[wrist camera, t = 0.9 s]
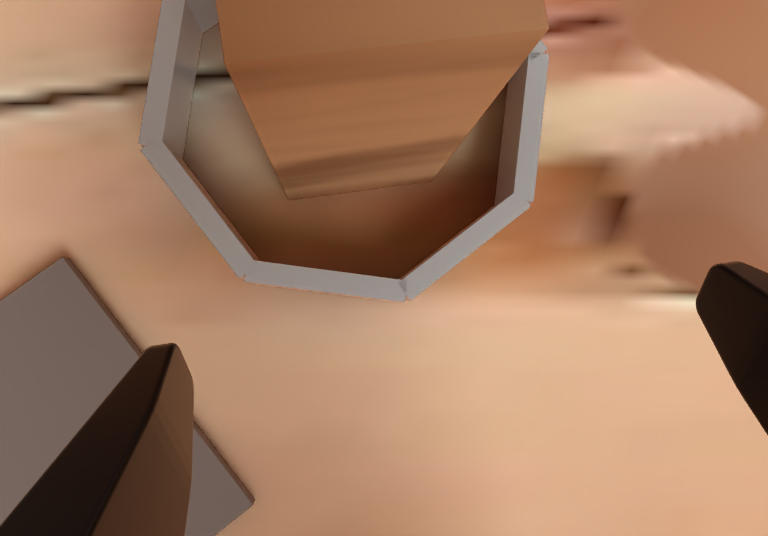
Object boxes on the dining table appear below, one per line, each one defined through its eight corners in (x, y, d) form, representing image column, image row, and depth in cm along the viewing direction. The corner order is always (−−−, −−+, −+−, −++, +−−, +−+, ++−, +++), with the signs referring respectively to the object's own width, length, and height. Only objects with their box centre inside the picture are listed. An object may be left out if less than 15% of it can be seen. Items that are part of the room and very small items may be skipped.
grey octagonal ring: (500, 315, 22) (521, 317, 20) (144, 269, 21) (118, 265, 19) (537, -16, 23) (560, -53, 21) (200, -76, 22) (182, -123, 20)
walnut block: (431, 181, 22) (548, 28, 10) (288, 200, 22) (224, 64, 9) (409, 44, 23) (496, -271, 10) (268, 59, 22) (179, -255, 10)
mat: (254, 499, 21) (252, 504, 20) (36, 675, 20) (28, 685, 19) (68, 258, 21) (61, 257, 20) (-160, 420, 20) (-173, 423, 19)
